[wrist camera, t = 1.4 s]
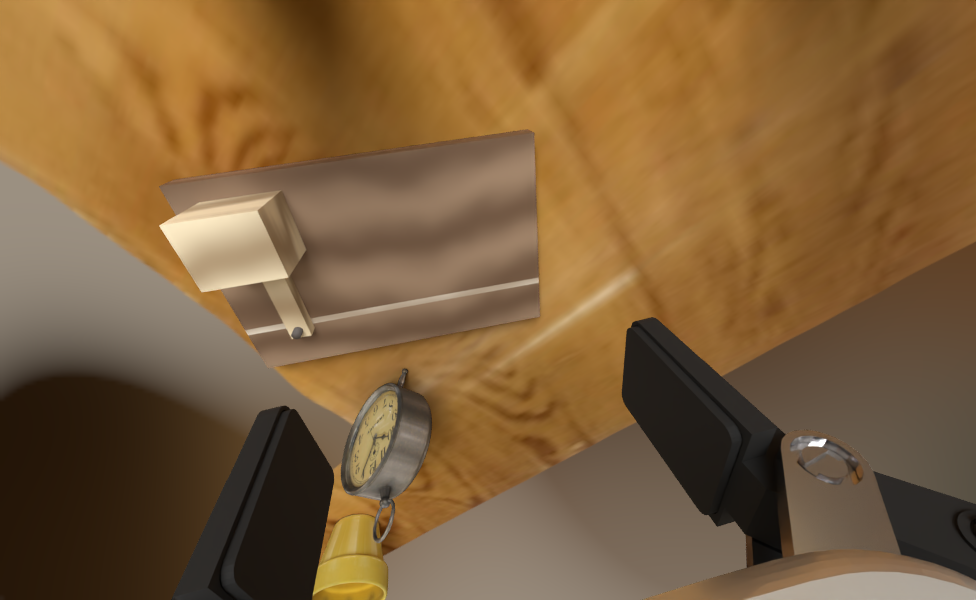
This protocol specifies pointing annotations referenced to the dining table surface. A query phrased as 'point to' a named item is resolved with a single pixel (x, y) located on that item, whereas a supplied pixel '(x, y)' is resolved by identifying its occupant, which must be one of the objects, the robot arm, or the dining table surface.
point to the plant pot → (352, 563)
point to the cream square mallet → (244, 250)
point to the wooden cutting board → (394, 243)
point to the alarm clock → (386, 446)
